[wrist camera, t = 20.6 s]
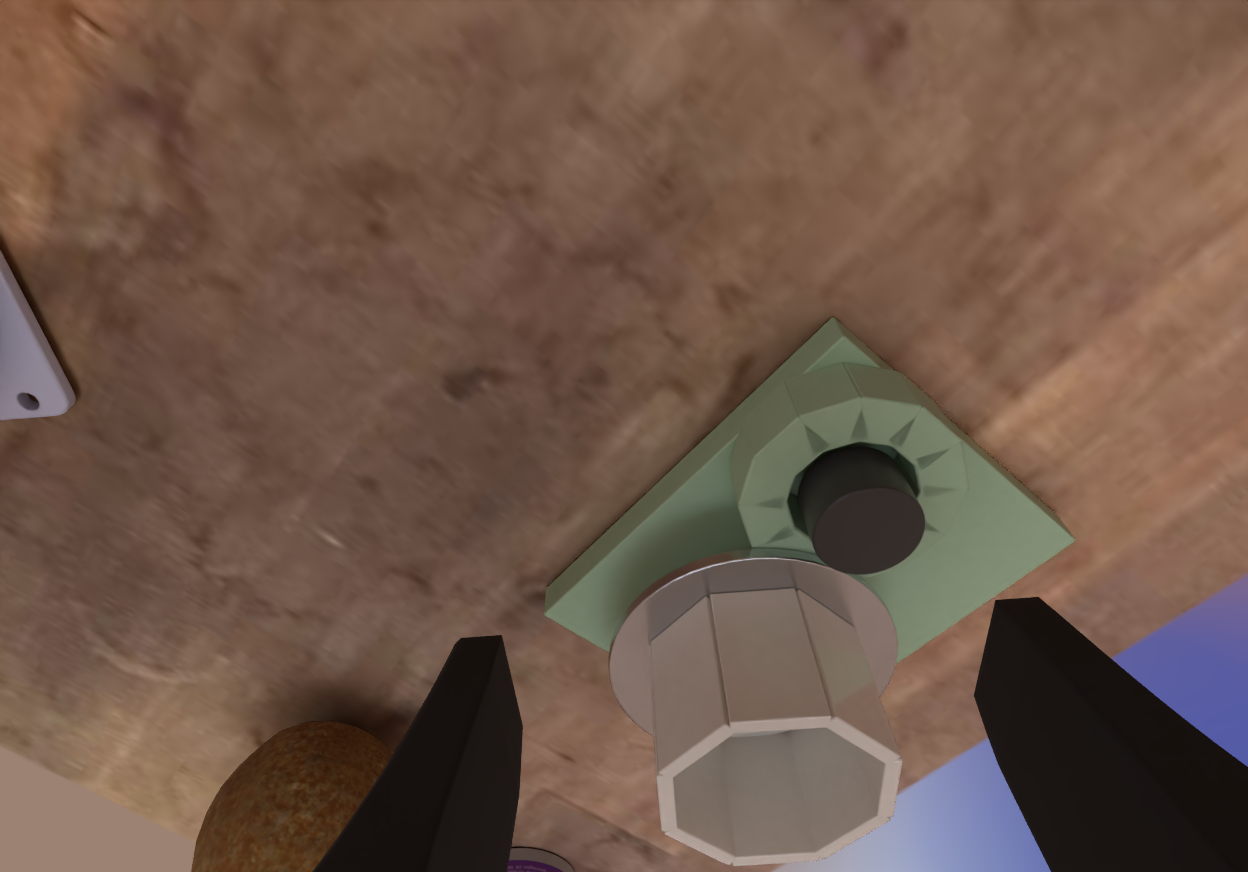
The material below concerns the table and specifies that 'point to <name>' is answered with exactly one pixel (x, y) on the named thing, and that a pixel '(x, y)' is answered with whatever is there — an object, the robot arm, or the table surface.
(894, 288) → the table surface
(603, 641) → the scale
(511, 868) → the container
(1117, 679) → the robot arm
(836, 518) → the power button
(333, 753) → the fruit
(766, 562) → the scale pan
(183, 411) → the table surface
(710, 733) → the bowl
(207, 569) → the table surface
